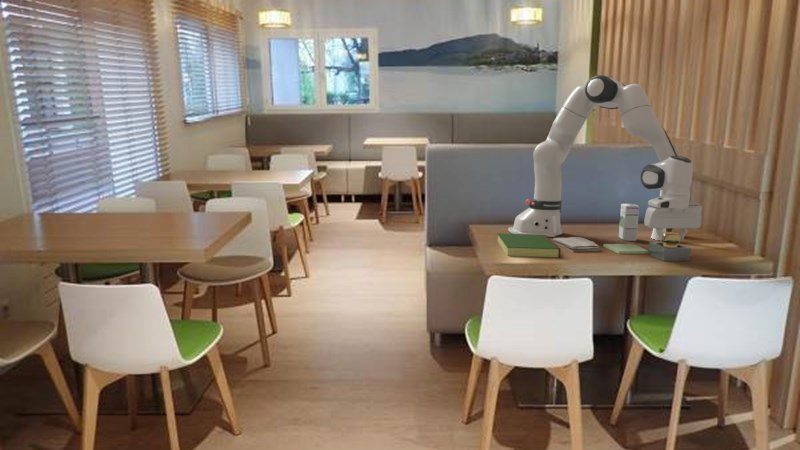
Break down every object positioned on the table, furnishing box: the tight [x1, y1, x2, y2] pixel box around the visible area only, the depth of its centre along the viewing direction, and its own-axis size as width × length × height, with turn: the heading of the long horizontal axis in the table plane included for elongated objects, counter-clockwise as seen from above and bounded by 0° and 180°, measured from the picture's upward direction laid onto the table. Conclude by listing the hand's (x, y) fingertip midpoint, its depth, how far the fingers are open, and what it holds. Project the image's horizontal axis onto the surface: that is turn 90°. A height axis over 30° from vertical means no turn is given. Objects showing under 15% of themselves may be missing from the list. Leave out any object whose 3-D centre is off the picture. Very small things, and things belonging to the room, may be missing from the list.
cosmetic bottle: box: [650, 190, 666, 241], centre depth 244 cm, size 6×6×22 cm
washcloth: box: [551, 236, 601, 253], centre depth 228 cm, size 12×18×3 cm, turn 13°
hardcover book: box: [496, 232, 562, 258], centre depth 221 cm, size 25×19×4 cm
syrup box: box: [617, 203, 640, 242], centre depth 243 cm, size 6×6×14 cm
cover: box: [662, 231, 681, 248], centre depth 213 cm, size 6×6×8 cm
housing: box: [647, 241, 692, 262], centre depth 214 cm, size 10×10×4 cm
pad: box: [602, 243, 649, 255], centre depth 224 cm, size 12×12×1 cm
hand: (670, 240), depth 213 cm, fingers closed on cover, 6 cm apart
